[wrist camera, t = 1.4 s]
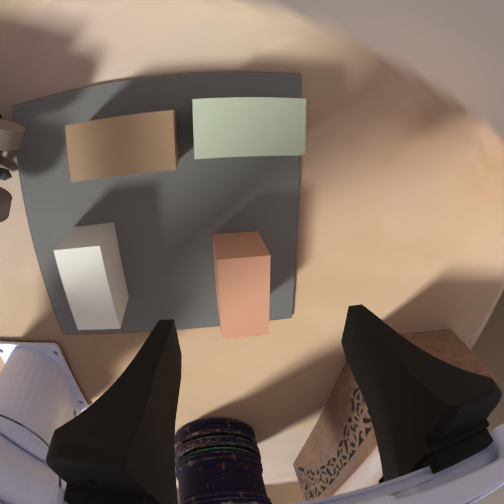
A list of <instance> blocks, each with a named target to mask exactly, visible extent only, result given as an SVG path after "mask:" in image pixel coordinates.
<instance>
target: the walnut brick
mask: <svg viewBox="0 0 504 504" xmlns="http://www.w3.org/2000/svg"><path fill="white" fill-rule="evenodd" d="M65 130H66V142H67V152H68V161H69V169H70V177H71V182H78V181H84V180H91V179H99V178H106V177H114V176H122V175H131V174H140V173H149V172H159V171H170V170H176V169H177V165H178V162H179V141H178V118H177V110H167V111H157V112H148V113H139V114H131V115H124V116H117V117H110V118H104V119H98V120H92V121H87V122H81V123H76V124H71V125H66V126H65Z"/></svg>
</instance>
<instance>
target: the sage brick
mask: <svg viewBox="0 0 504 504" xmlns="http://www.w3.org/2000/svg"><path fill="white" fill-rule="evenodd" d="M192 104H193V135H194V159H206V158H223V157H246V156H305V151H306V99H301V98H275V97H230V98H204V99H192Z"/></svg>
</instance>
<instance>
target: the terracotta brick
mask: <svg viewBox="0 0 504 504" xmlns="http://www.w3.org/2000/svg"><path fill="white" fill-rule="evenodd" d="M213 250H214V265H215V280H216V293H217V306H218V313H219V319H220V326H221V333H222V339H226V338H235V337H245V336H253V335H262V334H269V305H270V260H271V255H270V253H269V251H268V249H267V247H266V246H265V244H264V242H263V240H262V238H261V236H260V234H259V232H258V231H252V232H238V233H225V234H213Z"/></svg>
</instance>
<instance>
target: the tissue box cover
mask: <svg viewBox="0 0 504 504" xmlns="http://www.w3.org/2000/svg"><path fill="white" fill-rule="evenodd" d="M400 335H401V336H403V337H404V338H405V339H407V340H408V341H410V342H411V343H413V344H414V345H416V346H417V347H419V348H420V349H422V350H424V351H426V352H427V353H429V354H431V355H432V356H434V357H436V358H438V359H440V360H442V361H444V362H447V363H449V364H451V365H453V366H456V367H458V368H461V369H464V370H466V371H469V372H472V373H476V374H479V375H483V376H487V377H491V378H493V380H494V381H496V378H495V377H494V376H493V375H492V374H491V372H490V371H489V370H488V369H487V368H486V367H485V366H484V365H483V363H482V362H481V361H480V360H479V359H478V358H477V357H476V356H475V355H474V354H473V353H472V352H471V350H470V349H469V348H468V347H467V346H466V345H465V344H464V343H463V342H462V341H461V340H460V339H459V338H458V336H457V335H456V334H455V333H454V332H453V331H452V330H451V329H450V330H441V331H431V332H421V333H410V334H400ZM293 465H294V469H295V472H296V475H297V478H298V481H299V485H300V488H301V491H302V494H303V497H304V501H309V500H315V499H320V498H325V497H329V496H334V495H338V494H343V493H347V492H351V491H355V490H358V489H362V488H366V487H369V486H373V485H376V484H379V483H382V482H384V480H383V473H382V466H381V460H380V455H379V450H378V445H377V441H376V437H375V433H374V429H373V425H372V422H371V418H370V415H369V411H368V408H367V406H366V403H365V400H364V398H363V396H362V394H361V391H360V389H359V387H358V385H357V382H356V380H355V378H354V376H353V374H352V371H351V369H350V367H349V364H348V362H346V364H345V366H344V368H343V371H342V373H341V375H340V377H339V379H338V381H337V383H336V385H335V387H334V390H333V392H332V394H331V396H330V398H329V400H328V402H327V404H326V406H325V408H324V409H323V411H322V413H321V415H320V417H319V419H318V421H317V423H316V425H315V427H314V428H313V430H312V432H311V434H310V436H309V438H308V439H307V441H306V443H305V445H304V446H303V448H302V450H301V452H300V453H299V455H298V457H297V458H296V460H295V462H294V464H293Z"/></svg>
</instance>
